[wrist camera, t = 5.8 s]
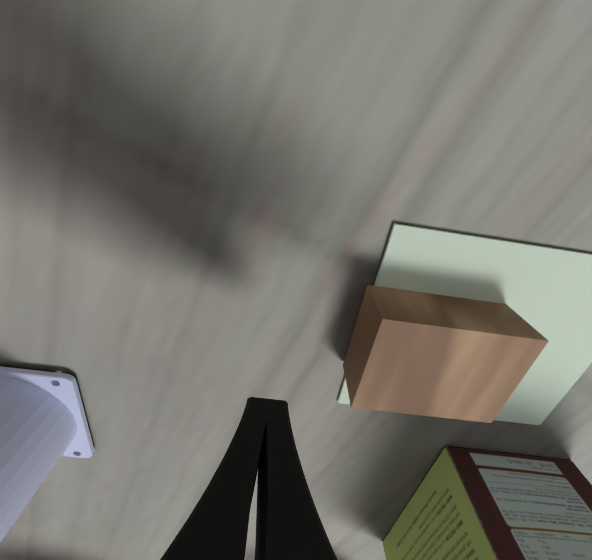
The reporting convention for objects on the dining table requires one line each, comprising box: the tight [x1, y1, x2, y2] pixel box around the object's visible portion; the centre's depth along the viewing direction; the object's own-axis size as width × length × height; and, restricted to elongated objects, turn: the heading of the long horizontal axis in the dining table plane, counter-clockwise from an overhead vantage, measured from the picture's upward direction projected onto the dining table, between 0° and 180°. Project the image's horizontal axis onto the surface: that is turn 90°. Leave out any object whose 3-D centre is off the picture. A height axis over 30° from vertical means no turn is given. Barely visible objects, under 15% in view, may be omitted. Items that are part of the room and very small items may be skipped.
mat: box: [338, 223, 592, 425], centre depth 17 cm, size 14×12×1 cm
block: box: [343, 285, 549, 423], centre depth 15 cm, size 3×6×8 cm
